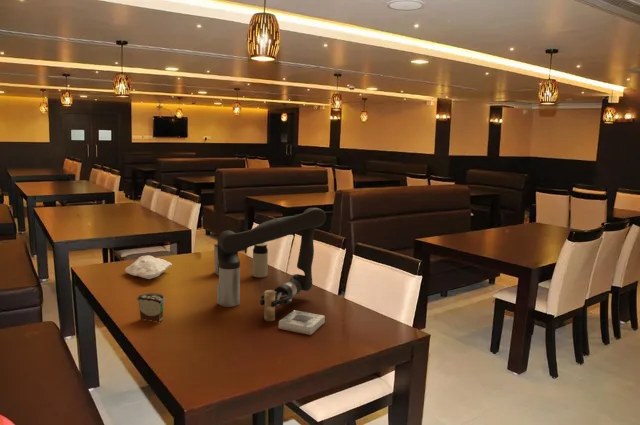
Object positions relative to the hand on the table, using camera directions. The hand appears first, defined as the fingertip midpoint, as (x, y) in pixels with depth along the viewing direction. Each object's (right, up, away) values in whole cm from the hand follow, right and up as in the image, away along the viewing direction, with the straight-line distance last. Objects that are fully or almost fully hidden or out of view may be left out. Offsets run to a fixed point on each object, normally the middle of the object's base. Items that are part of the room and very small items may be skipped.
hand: (266, 303), depth 196 cm
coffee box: (-31, +4, +68) cm, 75 cm away
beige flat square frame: (+15, -8, -2) cm, 17 cm away
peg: (+1, -7, +4) cm, 8 cm away
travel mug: (-11, +3, +65) cm, 66 cm away
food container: (-46, -6, 0) cm, 47 cm away
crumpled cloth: (-69, +4, +60) cm, 92 cm away
